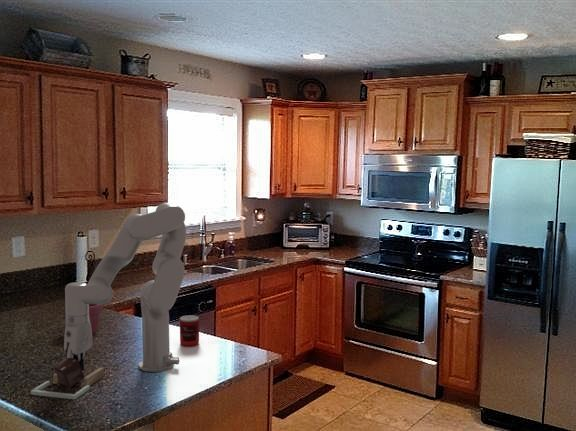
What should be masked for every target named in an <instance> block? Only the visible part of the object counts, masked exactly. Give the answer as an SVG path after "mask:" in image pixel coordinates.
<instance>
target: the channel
mask: <svg viewBox="0 0 576 431" xmlns="http://www.w3.org/2000/svg"><path fill="white" fill-rule="evenodd" d="M104 376H105V367H99V368H96V369H95V370H93V371H92V372H91V373H88V375H86V376H84V378H83V379H82V380H83V388H84V387H85V386H87V385H90V386H92V385H94V383H96V382H98V381H99V380H101V379H102V378H103V377H104ZM52 377H53V378H52V379H53V380H52V383H53V384H56V385H57V384H61V383H60V381H59V379H58V376H57V374H56V372H55V373H54V374H53V375H52Z"/></svg>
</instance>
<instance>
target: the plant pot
mask: <svg viewBox="0 0 576 431" xmlns="http://www.w3.org/2000/svg"><path fill="white" fill-rule="evenodd" d="M103 307H104V306H103V304H89V320H90V323H91V329H92V335H93V334H96V333H97V332H98V330H99V325H100V324H99V323H100V318H101V312H103Z"/></svg>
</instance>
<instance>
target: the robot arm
mask: <svg viewBox="0 0 576 431" xmlns="http://www.w3.org/2000/svg"><path fill="white" fill-rule="evenodd" d="M185 219H186V214H185V212H184V210H183V209H182V207H180V206H179V205H176V204H173V203H170V202H163V203H160V204H159V205H158V206H157V207H156V208H155V211H152V212H150V213H149V212H148V213H146V214H140V213H133V214H130V215H129V216H128V217H126V219H125V221H124V223H123V224H122V226H121V228H120V230H119V231H118V233H117V235H116V237H115V239H114V241H112V244H111V245H110V247H109V249H108V251H107V252H106V253H105V255H104V256H103V257H102V258H101V260H100V261H99V263H98V265H97V266H96V267H95V270H94V271H93V273H92V275H91V277H90V279H89V280H88V282H87V283H86V282H83V281H75V282H70V283H67V284H66V285H65V287H64V296H65V297H64V301H65V302H64V303H65V304H64V305H65V309H64V310H65V328H64V329H65V330H64V338H63V348H64V349H63V350H64V354H66V358H68V359H72V358H73V359H76V360H78V362H79V364H80V367H81V370H82V372H84V370H85V368H84V365H85V364H84V363H85V362H84V361H85V360H84V359H85V357H86V352H87V351H89V349H91V348H92V347H93V334H92V329H91V323H90V320H89V304H102V305H105V304H107V303H109V302H110V301H111V300H112V299H113V296H114V290H113V288H112V287H111V285H112V283H113V281H114V279H115V278H116V276H117V274H118V273H119V272H120V270H122V268H124V267H126V266H127V265H129V263H131V262H132V260H133V259H134V257H135V255H136V253H137V251H138V249H139V248H140V246H141V244H142V242H143V241H146V240H150V239H153V238H155V237H159V236H161V235H162V236H161V239H160V242H159V245H158V248H157V251H156V255H155V257H154V259H153V262H152V272H153V273H154V275H155V277H154V279H153V280H148V281H147V282H145V283H144V284H143V286H142V287H141V289H140V293H139V300H140V307H141V308H140V309H141V310H140V311H141V331H142V332H141V333H142V338H141V339H142V360H141V361H140V362H139V363H138V369H139V370H141V371H143V372H147V373H158V372H163V371H164V372H165V371H167V370H170V369H172V368H173V367H174V365H180V357H178V356H173V352H170V314H169V311H170V310H171V309H172V307H173V306H174V304H175V303H176V300H177V297H178V295H179V292H180V289H181V286H182V283H183V280H184V278H185V270H186V268H185V265H184V262H183V261H182V259H181V256H182V255H183V251H184V246H185V244H186V240H187V239H186V238H187V229H186V224H185Z"/></svg>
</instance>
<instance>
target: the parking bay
mask: <svg viewBox="0 0 576 431" xmlns="http://www.w3.org/2000/svg"><path fill="white" fill-rule="evenodd" d="M49 386H51V381H50V380H46V381H45V382H43V383H41V384H40V385H38V386H36V387H35V388H33V389H31V390H30V395H34V396H41V397H50V398H60V399H67V400H76V399H78V398H79V397H81V396H82V395H84V394H85V393H87V392H88V391H89V390H91V385H87V386H85V387H84V386H83V387H82V388H81V389H79V390H78V391H76V392H75V393H74V394H73V393H66V392H65V393H64V392H59V391H58V392H57V391H48V390H44V389H45V388H47V387H49Z"/></svg>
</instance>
